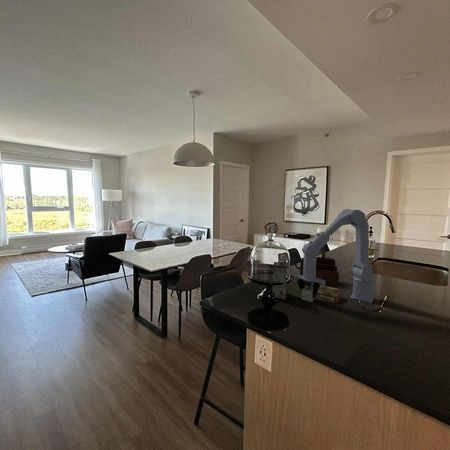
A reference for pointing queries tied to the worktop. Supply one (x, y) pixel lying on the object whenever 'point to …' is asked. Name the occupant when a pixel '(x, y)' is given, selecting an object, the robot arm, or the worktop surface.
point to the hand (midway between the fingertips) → (308, 296)
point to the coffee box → (280, 279)
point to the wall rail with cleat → (330, 292)
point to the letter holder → (324, 271)
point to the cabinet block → (307, 294)
